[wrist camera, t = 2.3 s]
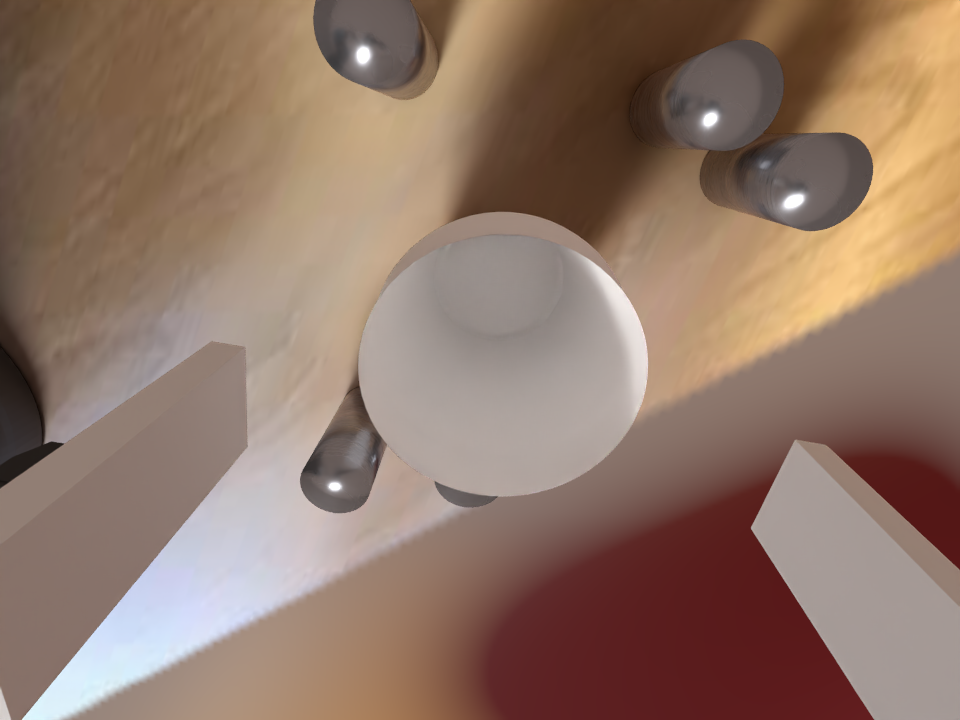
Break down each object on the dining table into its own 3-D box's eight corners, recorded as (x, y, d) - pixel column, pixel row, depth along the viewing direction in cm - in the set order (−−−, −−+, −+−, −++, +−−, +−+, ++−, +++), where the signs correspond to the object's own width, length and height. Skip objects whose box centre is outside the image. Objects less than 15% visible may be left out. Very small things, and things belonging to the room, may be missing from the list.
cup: (433, 164, 24) (381, 186, 13) (612, 215, 25) (707, 276, 14) (396, 335, 28) (332, 466, 17) (554, 375, 28) (592, 526, 17)
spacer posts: (341, 428, 30) (299, 507, 24) (368, 9, 21) (315, -46, 15) (653, 478, 31) (695, 567, 24) (799, 92, 22) (921, 74, 16)
